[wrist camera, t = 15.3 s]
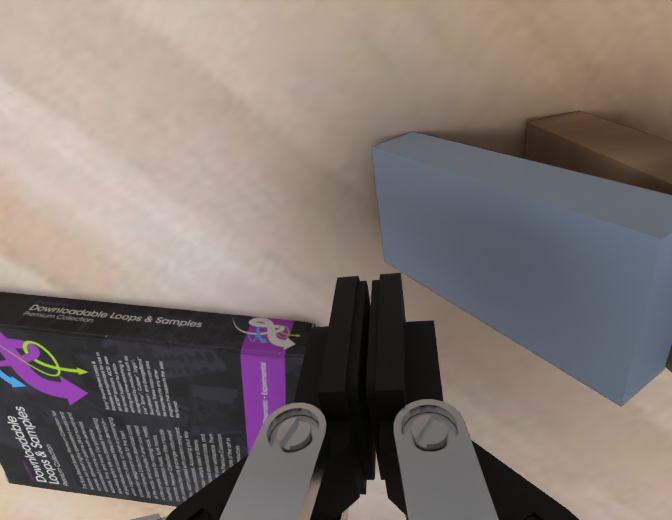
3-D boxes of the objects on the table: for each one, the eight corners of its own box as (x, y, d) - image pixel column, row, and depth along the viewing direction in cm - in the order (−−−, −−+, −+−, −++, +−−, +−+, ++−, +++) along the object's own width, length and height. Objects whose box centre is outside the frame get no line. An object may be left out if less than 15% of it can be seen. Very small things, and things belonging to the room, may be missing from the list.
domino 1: (413, 131, 18) (712, 204, 10) (420, 243, 20) (664, 369, 13) (371, 146, 17) (662, 239, 9) (384, 261, 20) (621, 406, 12)
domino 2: (578, 110, 17) (938, 230, 8) (564, 231, 19) (827, 417, 11) (527, 122, 17) (839, 257, 8) (519, 242, 19) (751, 440, 11)
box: (319, 311, 24) (-41, 277, 25) (310, 359, 21) (-98, 318, 22) (312, 473, 32) (34, 443, 32) (304, 525, 29) (-2, 490, 29)
